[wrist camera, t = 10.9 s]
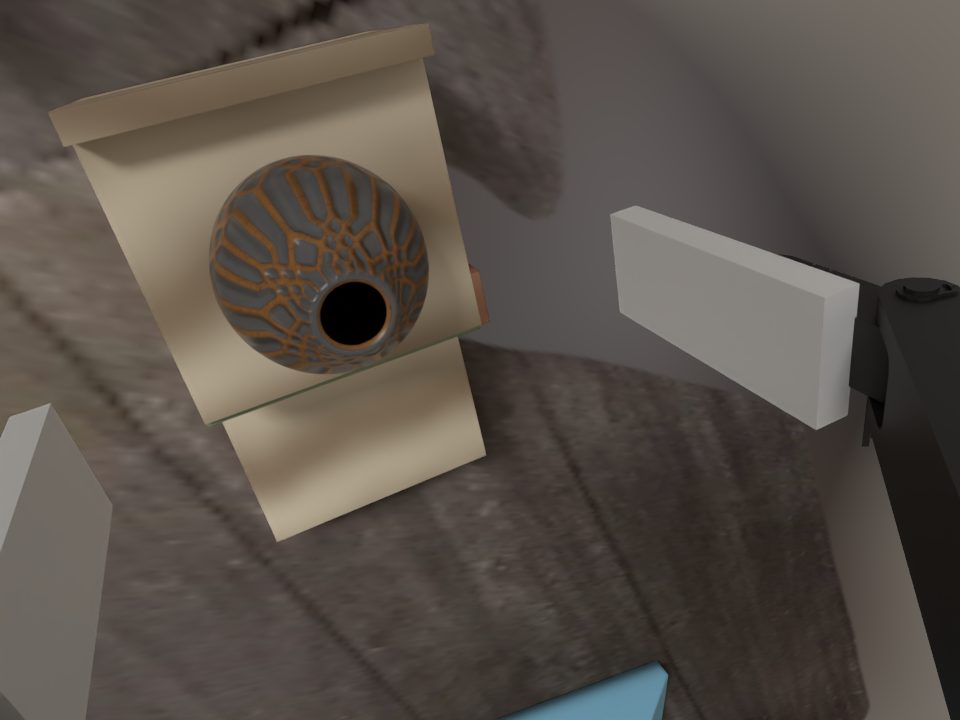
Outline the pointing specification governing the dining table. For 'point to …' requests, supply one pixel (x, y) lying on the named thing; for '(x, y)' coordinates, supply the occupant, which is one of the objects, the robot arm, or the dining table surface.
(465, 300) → the stepped riser
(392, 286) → the vase
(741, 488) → the dining table surface
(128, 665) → the dining table surface
